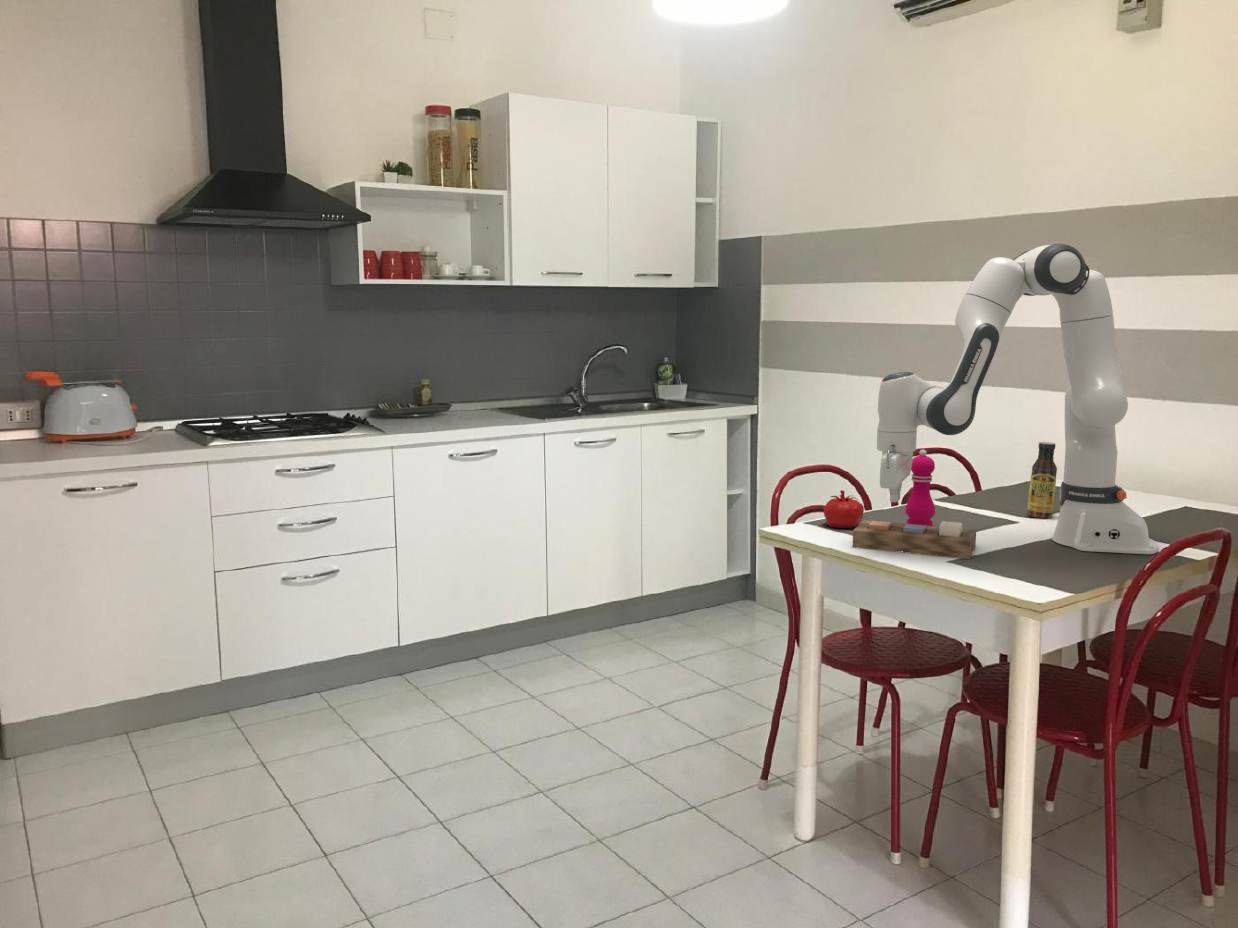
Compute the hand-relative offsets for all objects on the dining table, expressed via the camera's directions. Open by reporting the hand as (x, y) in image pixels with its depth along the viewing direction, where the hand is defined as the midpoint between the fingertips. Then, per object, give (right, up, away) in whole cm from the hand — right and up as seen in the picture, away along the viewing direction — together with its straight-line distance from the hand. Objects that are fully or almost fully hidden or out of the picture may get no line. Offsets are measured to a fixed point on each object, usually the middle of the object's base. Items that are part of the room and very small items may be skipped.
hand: (894, 501), depth 235 cm
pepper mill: (+11, -8, +19) cm, 24 cm away
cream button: (+12, -9, -4) cm, 15 cm away
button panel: (+4, -11, 0) cm, 12 cm away
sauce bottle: (+47, -6, +31) cm, 57 cm away
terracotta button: (-3, -9, +3) cm, 10 cm away
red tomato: (-7, -7, +21) cm, 24 cm away
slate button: (+4, -9, -1) cm, 10 cm away
